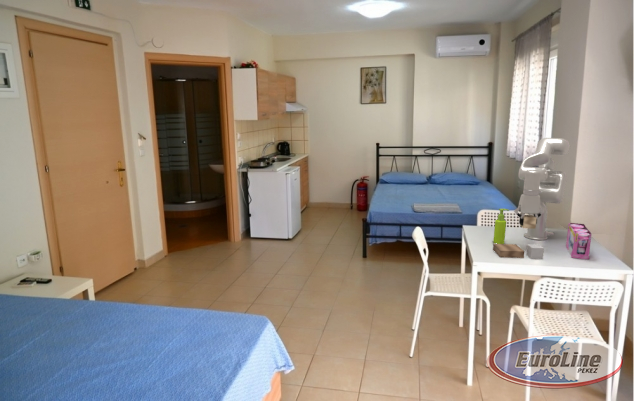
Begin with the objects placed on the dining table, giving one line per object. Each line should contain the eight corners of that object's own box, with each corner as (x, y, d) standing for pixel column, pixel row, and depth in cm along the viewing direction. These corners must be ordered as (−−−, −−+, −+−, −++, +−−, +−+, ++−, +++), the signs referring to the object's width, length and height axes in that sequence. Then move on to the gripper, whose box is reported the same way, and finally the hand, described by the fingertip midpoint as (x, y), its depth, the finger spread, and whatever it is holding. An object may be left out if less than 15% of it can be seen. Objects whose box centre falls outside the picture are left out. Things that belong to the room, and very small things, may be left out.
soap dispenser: (507, 244, 250) (511, 210, 246) (495, 244, 250) (498, 210, 246) (504, 241, 255) (507, 207, 251) (491, 241, 256) (494, 207, 252)
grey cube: (537, 255, 231) (539, 244, 230) (542, 259, 225) (543, 248, 224) (526, 255, 232) (527, 244, 231) (530, 259, 226) (531, 247, 225)
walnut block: (515, 251, 239) (516, 244, 238) (523, 258, 227) (524, 251, 226) (492, 250, 240) (493, 243, 239) (499, 258, 228) (500, 250, 227)
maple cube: (531, 225, 242) (532, 214, 240) (535, 228, 236) (536, 217, 235) (519, 225, 242) (520, 214, 241) (523, 228, 237) (524, 217, 235)
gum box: (589, 260, 224) (593, 235, 221) (571, 258, 227) (575, 233, 224) (581, 247, 245) (584, 223, 243) (565, 245, 248) (568, 222, 246)
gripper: (544, 191, 238) (541, 223, 242) (511, 191, 239) (509, 223, 243) (550, 194, 230) (547, 227, 235) (516, 194, 232) (513, 226, 236)
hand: (527, 224), depth 239 cm, fingers closed on maple cube, 6 cm apart
